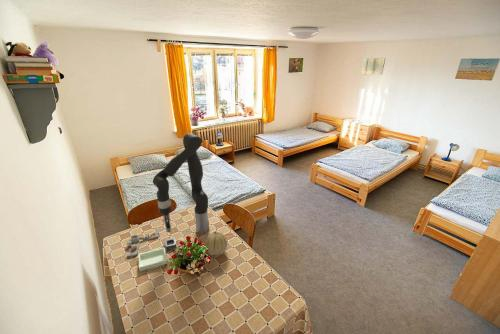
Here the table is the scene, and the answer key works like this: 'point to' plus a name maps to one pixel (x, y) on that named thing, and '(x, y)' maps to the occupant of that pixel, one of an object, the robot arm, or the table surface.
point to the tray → (152, 259)
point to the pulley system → (135, 239)
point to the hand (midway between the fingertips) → (168, 226)
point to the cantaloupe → (216, 243)
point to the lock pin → (166, 227)
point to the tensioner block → (170, 244)
